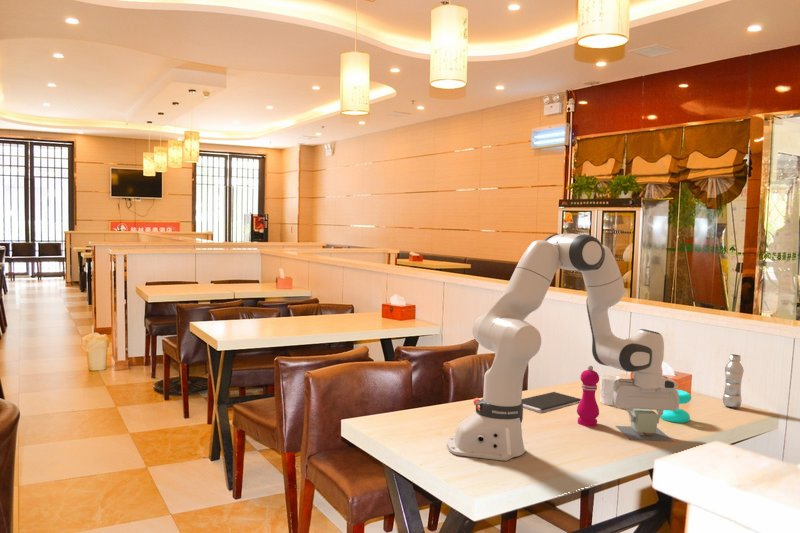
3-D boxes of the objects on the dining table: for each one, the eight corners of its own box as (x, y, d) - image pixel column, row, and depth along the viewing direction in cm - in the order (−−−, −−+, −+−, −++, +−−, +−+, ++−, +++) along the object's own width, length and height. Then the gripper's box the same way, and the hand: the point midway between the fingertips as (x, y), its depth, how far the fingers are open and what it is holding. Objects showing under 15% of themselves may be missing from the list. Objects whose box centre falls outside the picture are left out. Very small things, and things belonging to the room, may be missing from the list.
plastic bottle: (741, 406, 237) (745, 355, 236) (740, 410, 232) (744, 357, 231) (722, 403, 241) (726, 352, 240) (721, 407, 235) (724, 355, 234)
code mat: (629, 440, 193) (629, 439, 193) (615, 426, 207) (615, 425, 207) (674, 442, 192) (674, 441, 192) (657, 428, 206) (657, 427, 206)
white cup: (623, 406, 232) (624, 380, 231) (602, 405, 232) (603, 379, 231) (616, 400, 239) (617, 375, 239) (595, 399, 239) (597, 374, 239)
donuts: (695, 392, 217) (685, 397, 209) (693, 420, 217) (683, 426, 210) (666, 386, 224) (655, 391, 216) (664, 413, 224) (654, 419, 217)
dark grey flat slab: (582, 403, 237) (583, 398, 236) (539, 414, 219) (540, 409, 219) (553, 395, 247) (553, 391, 247) (510, 405, 229) (510, 401, 229)
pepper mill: (599, 428, 204) (603, 368, 203) (576, 426, 205) (580, 366, 204) (597, 422, 211) (600, 364, 210) (575, 420, 212) (578, 362, 211)
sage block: (637, 432, 196) (638, 413, 196) (630, 426, 202) (632, 408, 202) (656, 433, 196) (657, 414, 196) (649, 427, 202) (650, 409, 202)
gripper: (617, 380, 196) (614, 423, 196) (682, 383, 195) (679, 427, 196) (611, 375, 202) (608, 417, 203) (674, 379, 201) (671, 421, 202)
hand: (643, 422), depth 199 cm, fingers closed on sage block, 6 cm apart
